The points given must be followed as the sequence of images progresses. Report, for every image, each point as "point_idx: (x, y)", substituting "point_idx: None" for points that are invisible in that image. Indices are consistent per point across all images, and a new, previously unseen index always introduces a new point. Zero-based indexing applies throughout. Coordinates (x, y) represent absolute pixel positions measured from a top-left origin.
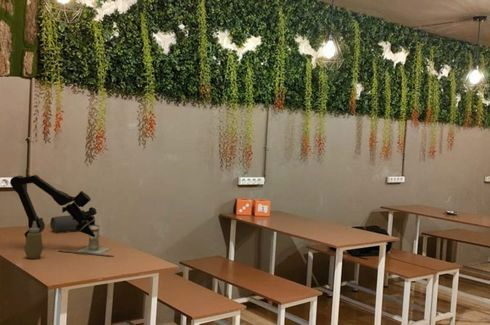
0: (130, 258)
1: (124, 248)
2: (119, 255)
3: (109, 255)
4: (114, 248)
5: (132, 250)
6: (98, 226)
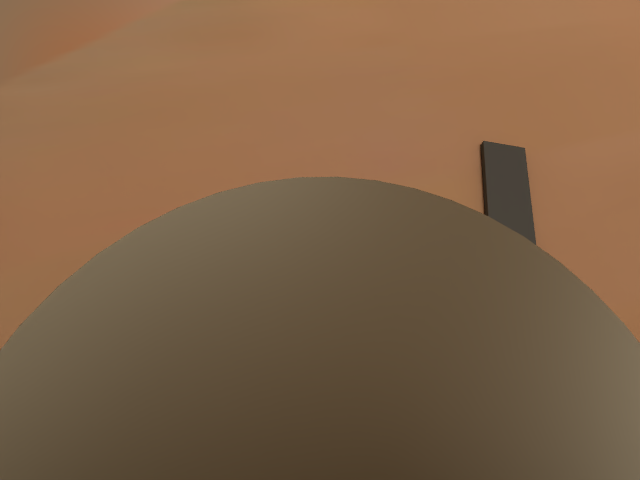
0: (491, 19)
1: (54, 118)
2: (424, 109)
3: (500, 184)
4: (66, 226)
5: (157, 36)
6: (411, 209)
